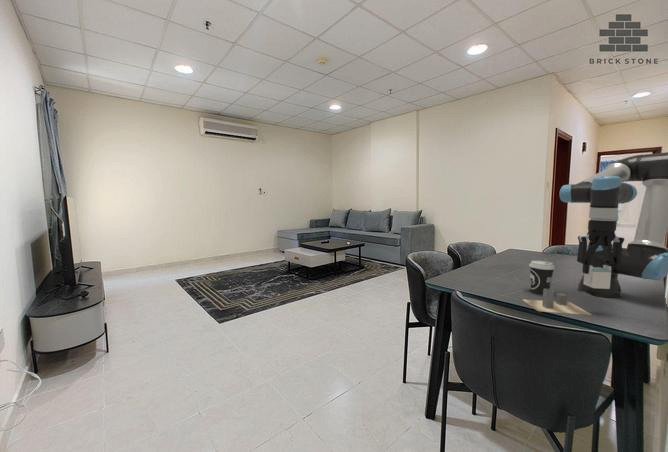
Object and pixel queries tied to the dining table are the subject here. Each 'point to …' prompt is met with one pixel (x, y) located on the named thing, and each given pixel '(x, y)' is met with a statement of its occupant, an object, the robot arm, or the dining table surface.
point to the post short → (561, 299)
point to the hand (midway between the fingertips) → (596, 282)
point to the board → (556, 307)
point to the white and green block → (600, 278)
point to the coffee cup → (540, 276)
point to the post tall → (548, 298)
